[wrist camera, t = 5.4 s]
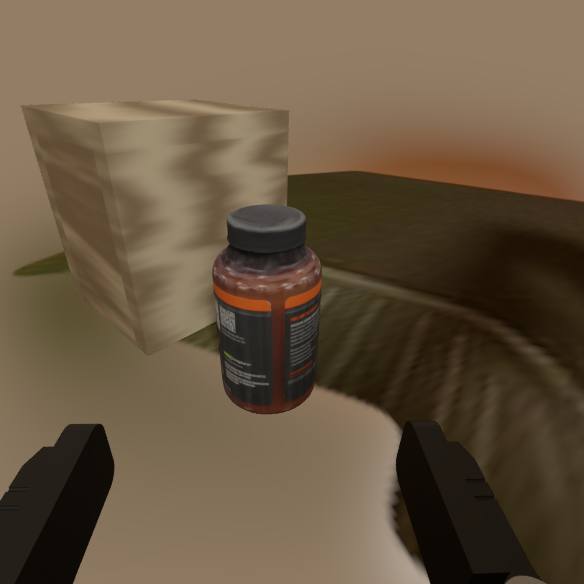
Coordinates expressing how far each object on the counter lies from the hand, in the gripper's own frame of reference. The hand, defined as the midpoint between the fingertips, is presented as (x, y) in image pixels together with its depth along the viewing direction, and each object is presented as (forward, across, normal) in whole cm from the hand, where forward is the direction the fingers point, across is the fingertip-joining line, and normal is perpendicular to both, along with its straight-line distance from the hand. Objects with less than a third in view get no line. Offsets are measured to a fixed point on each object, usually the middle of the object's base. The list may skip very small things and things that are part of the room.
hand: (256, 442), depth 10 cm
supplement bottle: (+12, 0, +9) cm, 15 cm away
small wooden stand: (+24, +7, +8) cm, 26 cm away
